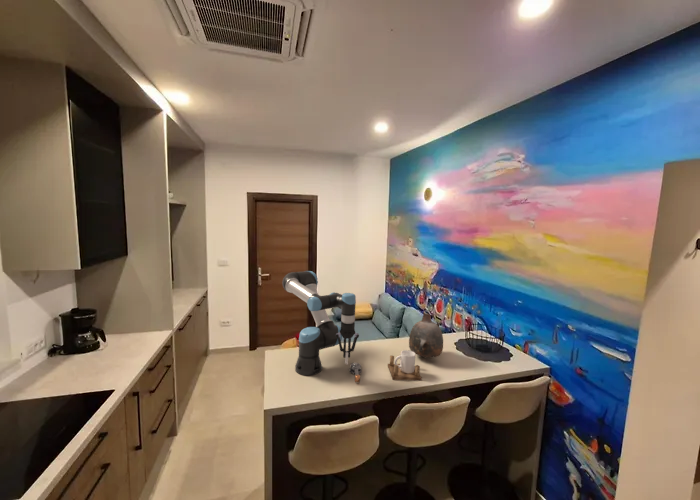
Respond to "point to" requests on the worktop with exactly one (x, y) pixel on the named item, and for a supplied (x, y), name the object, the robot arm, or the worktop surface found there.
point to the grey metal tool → (356, 370)
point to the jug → (426, 338)
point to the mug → (406, 361)
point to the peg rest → (400, 375)
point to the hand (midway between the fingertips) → (346, 363)
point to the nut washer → (354, 372)
